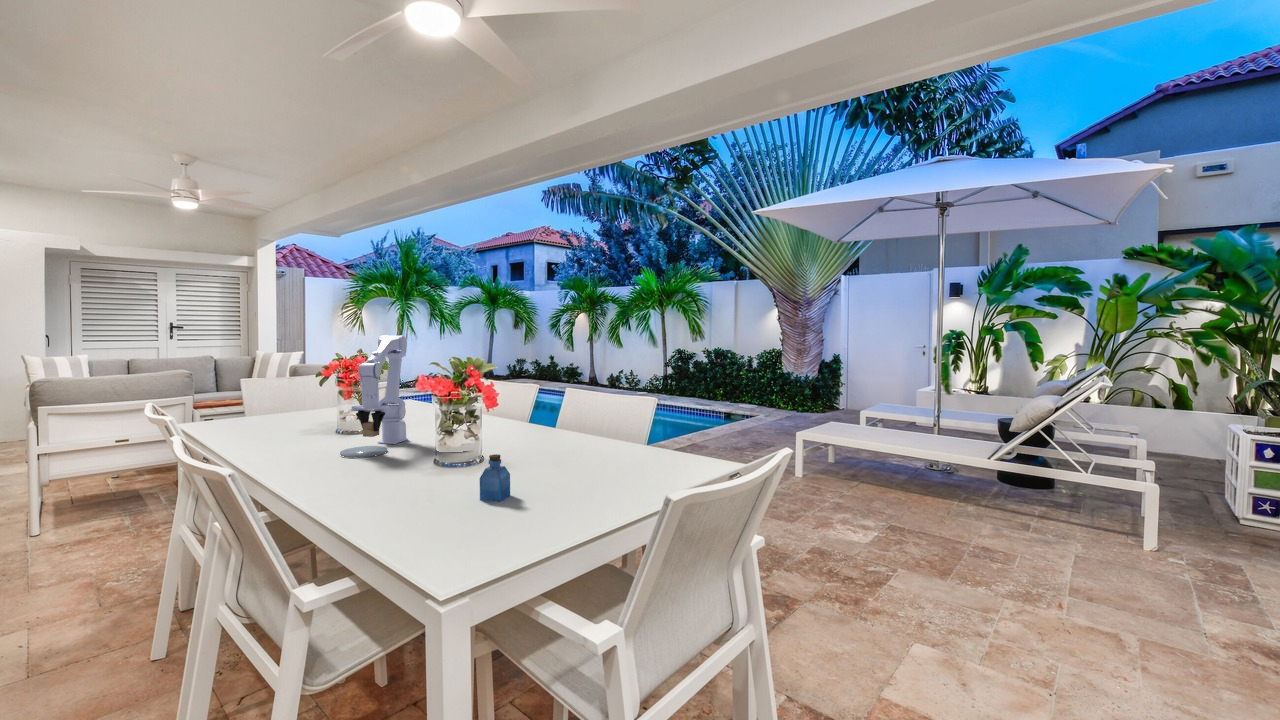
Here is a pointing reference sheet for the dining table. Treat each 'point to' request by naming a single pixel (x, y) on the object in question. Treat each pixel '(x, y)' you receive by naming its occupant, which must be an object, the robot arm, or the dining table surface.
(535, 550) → the dining table surface
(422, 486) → the dining table surface
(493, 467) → the perfume bottle
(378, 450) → the slate dish
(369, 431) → the walnut block
